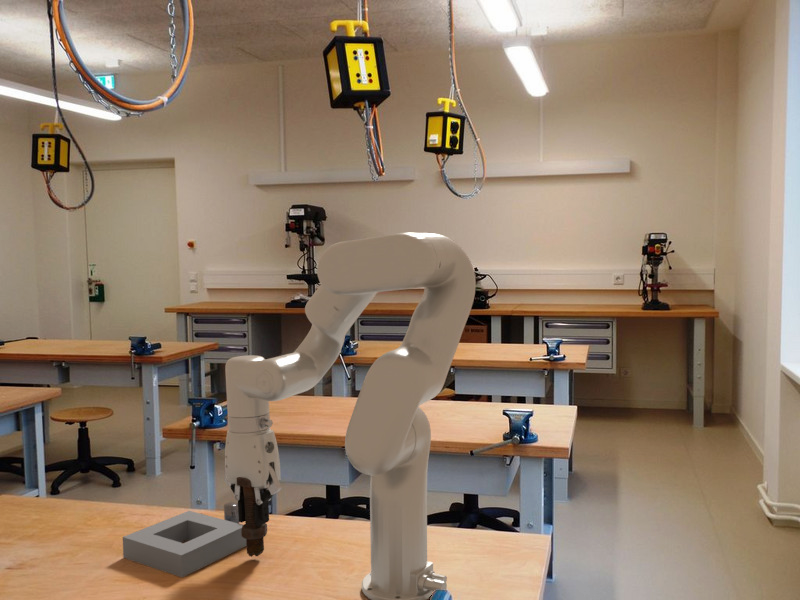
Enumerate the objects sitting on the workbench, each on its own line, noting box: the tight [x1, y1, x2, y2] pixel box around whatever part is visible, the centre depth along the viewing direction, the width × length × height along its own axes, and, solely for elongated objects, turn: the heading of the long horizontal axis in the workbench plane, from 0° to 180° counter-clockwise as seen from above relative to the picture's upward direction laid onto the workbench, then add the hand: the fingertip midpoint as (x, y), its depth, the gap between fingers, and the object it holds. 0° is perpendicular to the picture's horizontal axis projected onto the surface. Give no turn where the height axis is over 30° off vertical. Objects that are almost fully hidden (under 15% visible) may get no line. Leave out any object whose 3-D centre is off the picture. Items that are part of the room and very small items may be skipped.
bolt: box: [237, 477, 268, 557], centre depth 134 cm, size 6×5×15 cm
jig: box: [122, 510, 247, 578], centre depth 138 cm, size 16×16×4 cm
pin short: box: [223, 501, 240, 524], centre depth 150 cm, size 3×3×5 cm
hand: (253, 520), depth 134 cm, fingers closed on bolt, 3 cm apart
